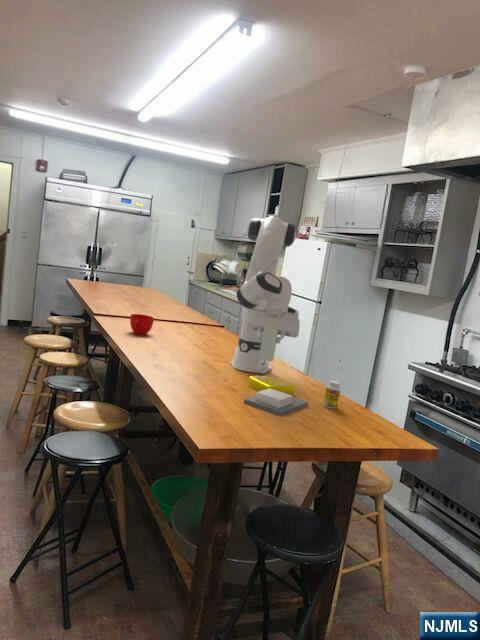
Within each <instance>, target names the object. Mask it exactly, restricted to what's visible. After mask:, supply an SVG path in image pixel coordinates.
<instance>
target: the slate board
mask: <svg viewBox="0 0 480 640" xmlns="http://www.w3.org/2000/svg"><path fill="white" fill-rule="evenodd" d="M243 403H244V404H247V405H249V406H252V407H255V408H258V409H260V410H264V411H267V412H269V413H272V414H275V415H277V416H281V417H283V416H285V415H288V414H291V413H293V412H296V411H298V410H300V409H302V408H306V407H308V406H309V401H306V400H303V399H301V398H298V397H294V396H293V395H289V394H286V393H283V392H280V391H276V390H273V389H270V388H269V389H266V390H262V391H257V392H256V394H255V395H253V396H250V397H246V398H244V400H243Z"/></svg>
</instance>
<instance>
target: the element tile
mask: <svg viewBox="0 0 480 640" xmlns="http://www.w3.org/2000/svg"><path fill="white" fill-rule="evenodd" d="M247 386H248V387H250V388H252V389H254V390H256V391H257V392H259V391H262V390H266V389H269V388H270V389H273V390H276V391H280V392H283V393H286V394H289V395H292V396H293V395H294V394H295V390H296V385H295V384H294V383H292V382H290V381H287V380H285V379H283V378H282V377H281V378H280V377H278V376H276V375H250V376H249V377H248V383H247Z"/></svg>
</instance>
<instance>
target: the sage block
mask: <svg viewBox="0 0 480 640" xmlns="http://www.w3.org/2000/svg"><path fill="white" fill-rule="evenodd" d="M278 329H279V328H274V327H268V326H265V327H264V330H263V336H262V343H261V349H260V355H259V359H260V360H265V361H268V362H271V363H272V362H273V361H274V359H275V353H276V345H277V343H276V339H277V337H278Z"/></svg>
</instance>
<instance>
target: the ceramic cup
mask: <svg viewBox="0 0 480 640" xmlns="http://www.w3.org/2000/svg"><path fill="white" fill-rule="evenodd" d="M129 318H130V327H131V330H132V332H133V333H134V334H135V335H139V334H140V336H145V335H147V334H148V333H149V332H150V331H151V330H152V327H153V325H154V320H155V318H154V317H153V316H150V315H146V314H139V313H136V314H135V313H131V314H130V317H129Z"/></svg>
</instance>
